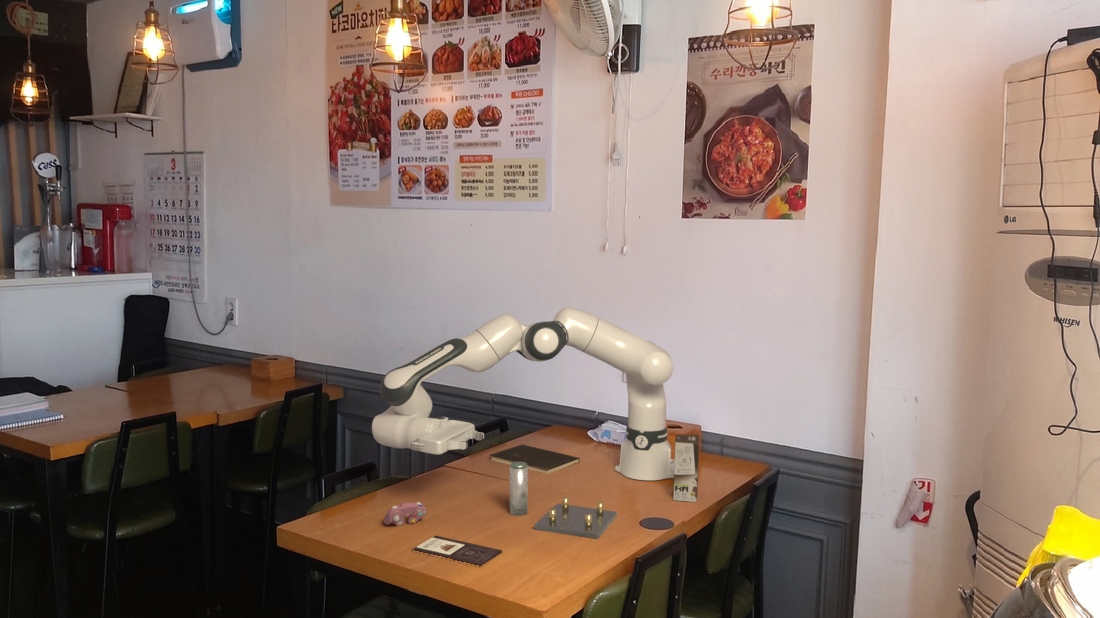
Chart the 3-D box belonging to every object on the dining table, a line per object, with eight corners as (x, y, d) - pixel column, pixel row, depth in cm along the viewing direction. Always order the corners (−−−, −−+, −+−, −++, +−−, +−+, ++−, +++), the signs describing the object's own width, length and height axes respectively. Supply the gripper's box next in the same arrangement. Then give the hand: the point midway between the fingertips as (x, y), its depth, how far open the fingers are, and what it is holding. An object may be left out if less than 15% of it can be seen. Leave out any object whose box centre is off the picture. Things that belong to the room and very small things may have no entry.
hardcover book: (547, 476, 239) (547, 469, 238) (489, 461, 253) (489, 454, 253) (579, 464, 251) (579, 457, 251) (523, 450, 265) (523, 443, 265)
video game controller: (386, 534, 196) (390, 513, 193) (382, 520, 200) (385, 500, 196) (426, 527, 201) (430, 507, 197) (420, 514, 204) (424, 494, 201)
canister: (513, 508, 210) (514, 460, 209) (530, 510, 209) (530, 462, 207) (506, 514, 206) (506, 465, 205) (523, 516, 204) (523, 467, 203)
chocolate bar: (480, 565, 174) (412, 549, 182) (480, 569, 174) (412, 553, 183) (502, 550, 182) (435, 535, 190) (502, 554, 182) (435, 539, 190)
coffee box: (697, 502, 216) (699, 443, 214) (672, 500, 217) (674, 441, 216) (698, 491, 225) (699, 434, 223) (674, 489, 226) (676, 433, 224)
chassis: (557, 507, 211) (557, 492, 211) (616, 516, 205) (617, 500, 205) (534, 529, 196) (534, 512, 196) (597, 539, 190) (597, 521, 190)
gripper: (407, 432, 205) (456, 438, 200) (446, 415, 224) (491, 420, 219) (407, 456, 205) (455, 463, 200) (445, 437, 224) (491, 443, 219)
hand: (474, 441), depth 210 cm, fingers open, 8 cm apart
